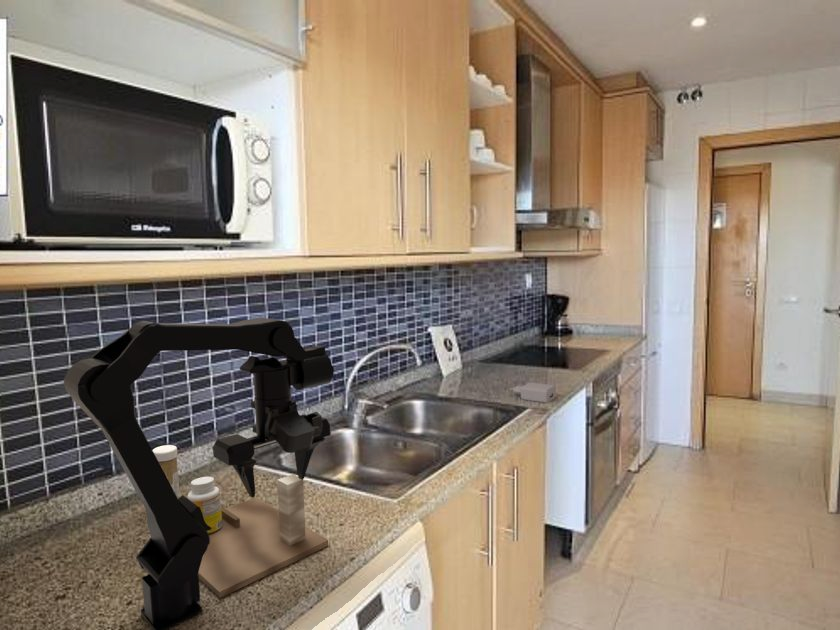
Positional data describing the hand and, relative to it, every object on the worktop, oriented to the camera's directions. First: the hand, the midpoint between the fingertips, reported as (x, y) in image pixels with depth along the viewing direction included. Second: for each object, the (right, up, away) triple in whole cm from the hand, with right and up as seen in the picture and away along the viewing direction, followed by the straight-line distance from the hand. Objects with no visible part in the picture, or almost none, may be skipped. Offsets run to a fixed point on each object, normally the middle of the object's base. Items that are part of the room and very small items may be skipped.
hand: (277, 487), depth 90 cm
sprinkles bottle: (-27, -11, +19) cm, 35 cm away
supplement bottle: (-16, -12, +11) cm, 23 cm away
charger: (+62, -1, +101) cm, 118 cm away
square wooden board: (-9, -12, +8) cm, 17 cm away
